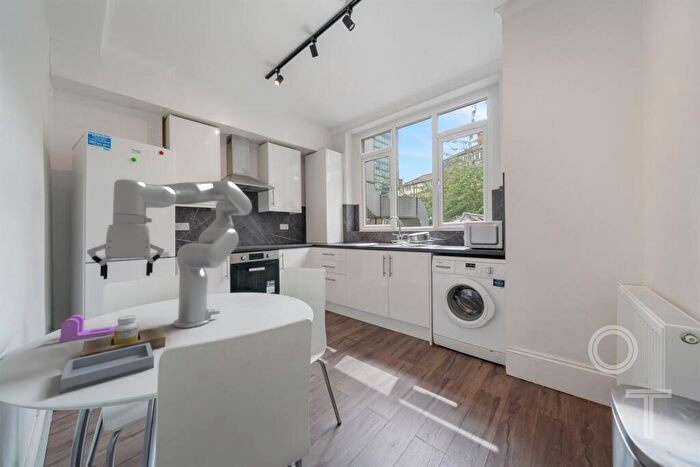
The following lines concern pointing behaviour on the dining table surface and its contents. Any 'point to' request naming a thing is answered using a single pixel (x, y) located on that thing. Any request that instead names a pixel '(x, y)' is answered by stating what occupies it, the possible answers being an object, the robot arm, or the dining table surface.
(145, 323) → the dining table surface
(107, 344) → the socket holder
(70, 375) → the parts tray
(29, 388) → the dining table surface
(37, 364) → the dining table surface
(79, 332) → the bracket
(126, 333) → the supplement bottle
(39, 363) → the dining table surface
